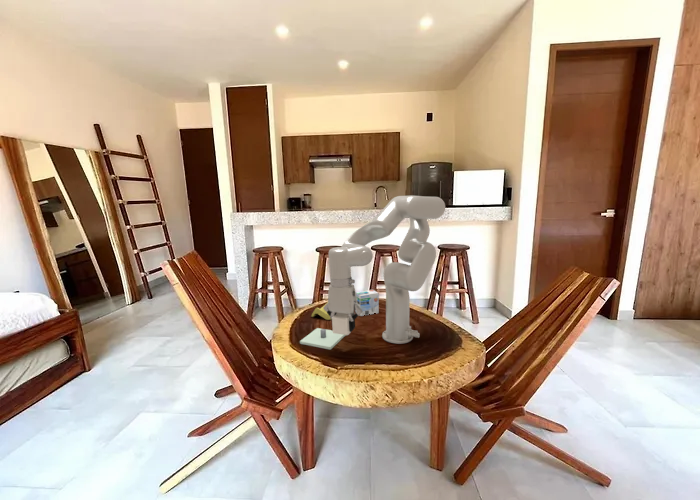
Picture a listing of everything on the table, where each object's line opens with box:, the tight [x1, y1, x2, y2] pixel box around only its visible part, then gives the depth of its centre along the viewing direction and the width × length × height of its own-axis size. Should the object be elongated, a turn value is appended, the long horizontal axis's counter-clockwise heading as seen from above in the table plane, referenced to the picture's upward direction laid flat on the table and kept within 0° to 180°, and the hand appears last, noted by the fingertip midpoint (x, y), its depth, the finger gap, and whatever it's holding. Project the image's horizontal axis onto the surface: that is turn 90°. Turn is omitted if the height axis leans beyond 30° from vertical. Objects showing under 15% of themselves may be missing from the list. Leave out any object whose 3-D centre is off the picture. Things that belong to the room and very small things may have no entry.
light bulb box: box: [354, 289, 380, 317], centre depth 155 cm, size 11×7×11 cm, turn 113°
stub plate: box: [299, 327, 346, 350], centre depth 126 cm, size 14×14×4 cm
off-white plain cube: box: [331, 313, 352, 336], centre depth 112 cm, size 6×6×6 cm
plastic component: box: [311, 301, 332, 321], centre depth 157 cm, size 20×7×10 cm
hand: (343, 328), depth 112 cm, fingers closed on off-white plain cube, 6 cm apart
